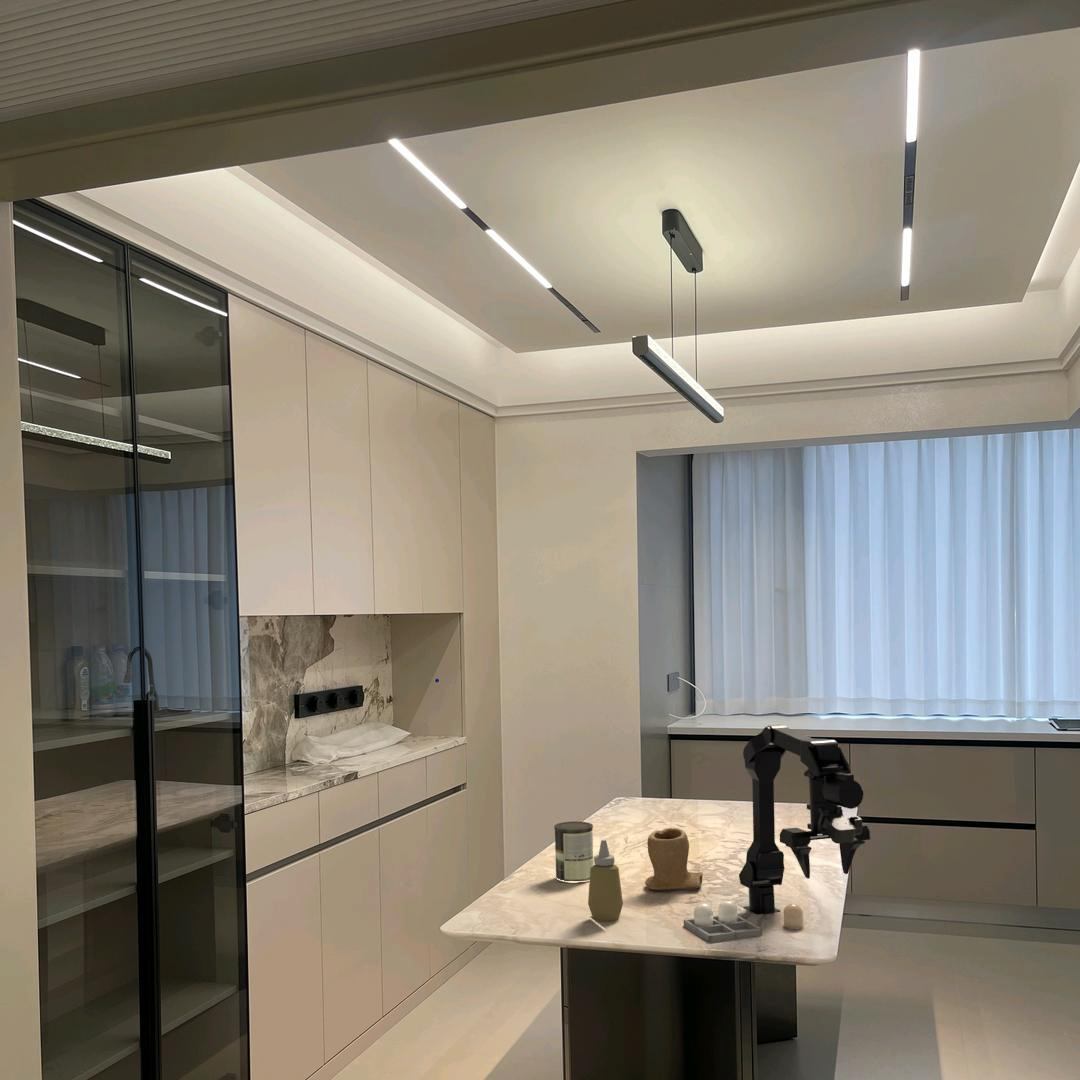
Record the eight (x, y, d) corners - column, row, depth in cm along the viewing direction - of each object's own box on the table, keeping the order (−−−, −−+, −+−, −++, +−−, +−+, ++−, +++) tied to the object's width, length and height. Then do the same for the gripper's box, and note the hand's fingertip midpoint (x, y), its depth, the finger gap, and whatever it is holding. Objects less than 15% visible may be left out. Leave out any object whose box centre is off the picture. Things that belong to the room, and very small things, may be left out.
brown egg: (780, 926, 237) (779, 902, 237) (797, 924, 238) (796, 900, 239) (790, 932, 233) (789, 907, 233) (807, 930, 234) (806, 905, 235)
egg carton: (683, 928, 238) (683, 919, 238) (734, 921, 241) (734, 913, 242) (709, 944, 226) (709, 935, 226) (762, 937, 229) (762, 929, 230)
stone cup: (647, 896, 265) (645, 835, 266) (644, 883, 277) (642, 825, 278) (708, 895, 264) (706, 833, 265) (702, 882, 276) (700, 824, 277)
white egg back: (691, 926, 237) (690, 902, 237) (708, 924, 238) (707, 900, 238) (699, 932, 233) (698, 907, 233) (716, 929, 234) (715, 905, 234)
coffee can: (548, 880, 282) (546, 826, 283) (569, 872, 290) (568, 819, 291) (580, 885, 276) (579, 830, 277) (601, 877, 285) (600, 823, 286)
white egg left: (715, 923, 239) (714, 899, 239) (732, 921, 240) (731, 897, 240) (724, 928, 235) (723, 904, 235) (741, 926, 236) (740, 902, 236)
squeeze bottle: (607, 912, 251) (605, 835, 252) (630, 920, 245) (628, 840, 246) (581, 919, 246) (579, 840, 247) (604, 927, 240) (602, 846, 241)
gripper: (805, 810, 214) (808, 890, 213) (884, 803, 219) (888, 880, 218) (777, 801, 224) (779, 877, 223) (853, 794, 230) (856, 868, 229)
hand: (826, 876), depth 223 cm, fingers open, 9 cm apart
